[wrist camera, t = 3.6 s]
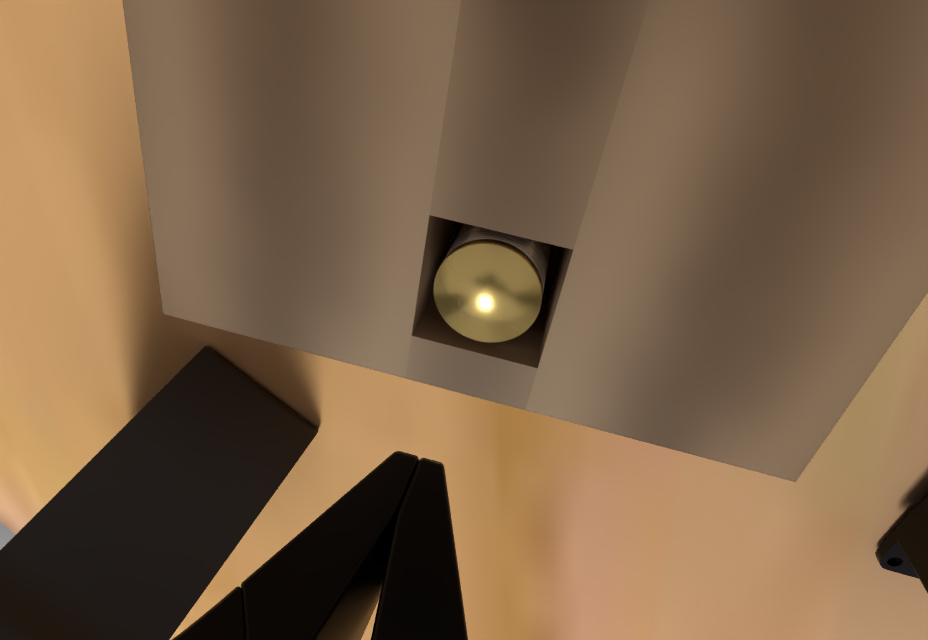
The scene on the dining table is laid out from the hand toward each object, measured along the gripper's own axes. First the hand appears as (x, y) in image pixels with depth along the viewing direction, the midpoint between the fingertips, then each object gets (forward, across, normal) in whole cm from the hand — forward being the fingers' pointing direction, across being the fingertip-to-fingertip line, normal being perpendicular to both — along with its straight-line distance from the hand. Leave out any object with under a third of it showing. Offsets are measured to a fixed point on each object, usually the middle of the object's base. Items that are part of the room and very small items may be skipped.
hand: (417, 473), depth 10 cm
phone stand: (+11, +11, +13) cm, 20 cm away
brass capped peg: (+11, 0, 0) cm, 11 cm away
